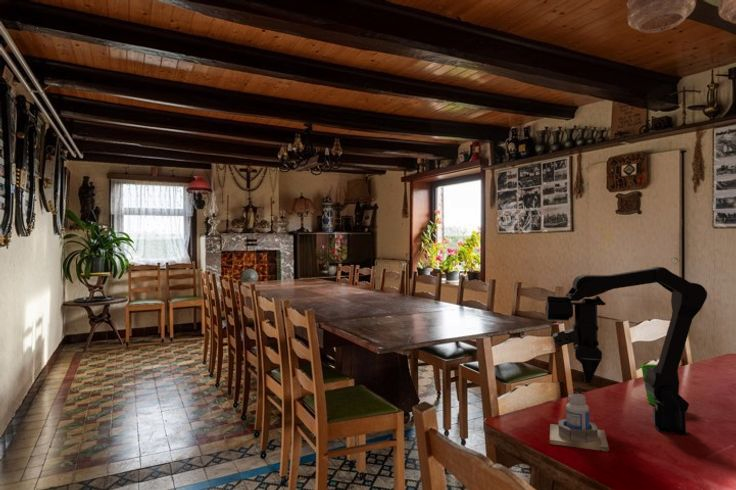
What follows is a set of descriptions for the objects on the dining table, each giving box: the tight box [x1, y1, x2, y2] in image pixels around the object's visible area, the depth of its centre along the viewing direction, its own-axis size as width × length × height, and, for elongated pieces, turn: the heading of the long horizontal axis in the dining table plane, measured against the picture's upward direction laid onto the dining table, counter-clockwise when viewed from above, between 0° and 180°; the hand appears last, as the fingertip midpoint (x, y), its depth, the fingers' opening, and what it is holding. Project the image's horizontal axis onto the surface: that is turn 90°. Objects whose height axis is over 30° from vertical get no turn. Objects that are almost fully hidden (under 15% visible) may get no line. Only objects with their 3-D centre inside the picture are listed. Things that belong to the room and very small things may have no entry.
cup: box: [640, 363, 658, 406], centre depth 143 cm, size 9×9×11 cm
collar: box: [549, 418, 610, 452], centre depth 118 cm, size 13×11×4 cm
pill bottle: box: [565, 393, 591, 430], centre depth 118 cm, size 6×5×10 cm
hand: (586, 377), depth 128 cm, fingers open, 9 cm apart
